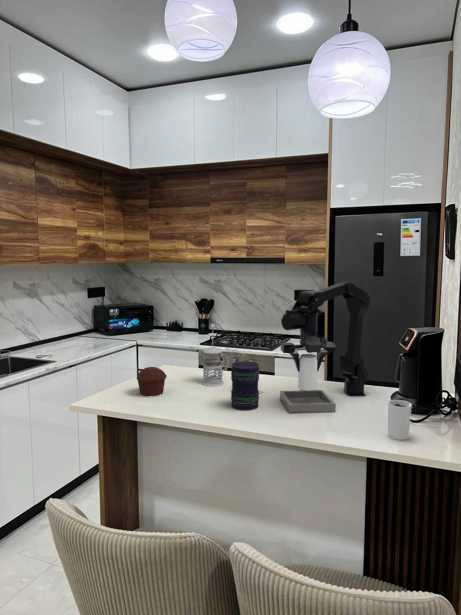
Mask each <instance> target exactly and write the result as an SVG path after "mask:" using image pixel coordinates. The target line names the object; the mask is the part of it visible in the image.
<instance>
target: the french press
mask: <svg viewBox="0 0 461 615" xmlns="http://www.w3.org/2000/svg"><path fill="white" fill-rule="evenodd" d="M210 328H212V329H211V330H212V332H211V333H212V345H211V347H207V348H204V349H203V351H202V352H203V354H206V355H211V356H212V358H206V359H203V362H204V363H203V371H202V372H203V381H201V383H200V385H202V386H204V387H209V386H210V387H212V388H213V387H215V386H216V387H221V386H223V384H224V385H225V381H223V372H225V371H227V370H228V368H229V364H230V362H229V361H230V360H229V358H228V356H227V355H226V354H225V353H223V350H222V348H220V347H216V346H214V328H215V324H214V323H211V324H210ZM218 354H220V357H221V358H223V356H224V357H225V358H226V362H227V363H226V366H225V367H224V368H223V364H222V359H220V358H214V355H218ZM216 387H215V388H216Z"/></svg>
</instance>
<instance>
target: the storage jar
mask: <svg viewBox="0 0 461 615" xmlns="http://www.w3.org/2000/svg"><path fill="white" fill-rule="evenodd" d="M230 366H231V372H230V374H231V376H230V380H231V391H230V399H231V408H232V409H234V410H237V411H253V410H257V409H258V408H259V400H260V396H259V395H260V393H259V391H260V390H259V380H260V369H259V367H260V365H259V363H258V362H256V363H254V362H243V361H236V362H233V363H231V365H230ZM258 390H259V391H258Z"/></svg>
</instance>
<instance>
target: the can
mask: <svg viewBox="0 0 461 615" xmlns="http://www.w3.org/2000/svg"><path fill="white" fill-rule="evenodd" d="M316 357H317V354H312V353H302V354H299V366H300V370H299V372H298V385H297V386H298V389H299V391H300V390H303V391H314V390H318V388H317V387H318V371H317V358H316Z"/></svg>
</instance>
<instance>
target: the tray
mask: <svg viewBox="0 0 461 615" xmlns="http://www.w3.org/2000/svg"><path fill="white" fill-rule="evenodd" d="M279 399H280V402H282V404H283V406H284V408H285V409H286V411H287V413H288V414H311V413H312V414H319V413H322V414H323V413H336V410H337V409H336V404H337V403H336V402H335V401H334V400H332V398H331V397H330V396H329V395H328V394H327V393H326V392H325V391H324V390H323V389H316V390H314V391H303V390H300V389H299V390H279Z"/></svg>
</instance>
